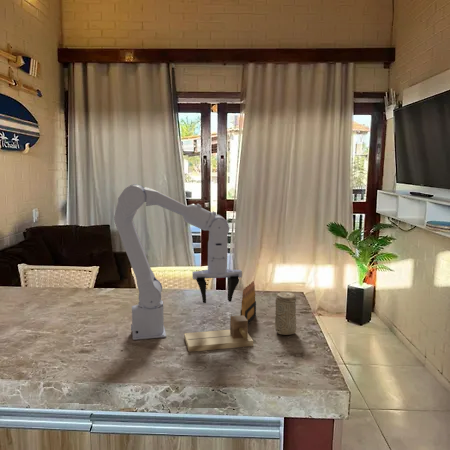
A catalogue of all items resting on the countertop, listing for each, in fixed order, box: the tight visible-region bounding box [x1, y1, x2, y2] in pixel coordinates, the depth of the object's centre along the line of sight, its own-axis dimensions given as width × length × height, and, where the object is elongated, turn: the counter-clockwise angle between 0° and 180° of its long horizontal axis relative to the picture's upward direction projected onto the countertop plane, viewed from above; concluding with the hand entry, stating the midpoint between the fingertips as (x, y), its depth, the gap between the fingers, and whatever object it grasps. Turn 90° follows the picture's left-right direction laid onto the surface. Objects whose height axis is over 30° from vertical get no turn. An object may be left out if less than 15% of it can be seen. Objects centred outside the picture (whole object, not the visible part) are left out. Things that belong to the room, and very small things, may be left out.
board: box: [183, 329, 254, 353], centre depth 119 cm, size 18×9×2 cm, turn 103°
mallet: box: [229, 315, 249, 339], centre depth 118 cm, size 4×9×5 cm, turn 13°
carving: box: [274, 291, 297, 336], centre depth 125 cm, size 6×8×12 cm
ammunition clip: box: [239, 280, 257, 325], centre depth 135 cm, size 11×2×12 cm, turn 159°
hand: (216, 301), depth 126 cm, fingers open, 7 cm apart
